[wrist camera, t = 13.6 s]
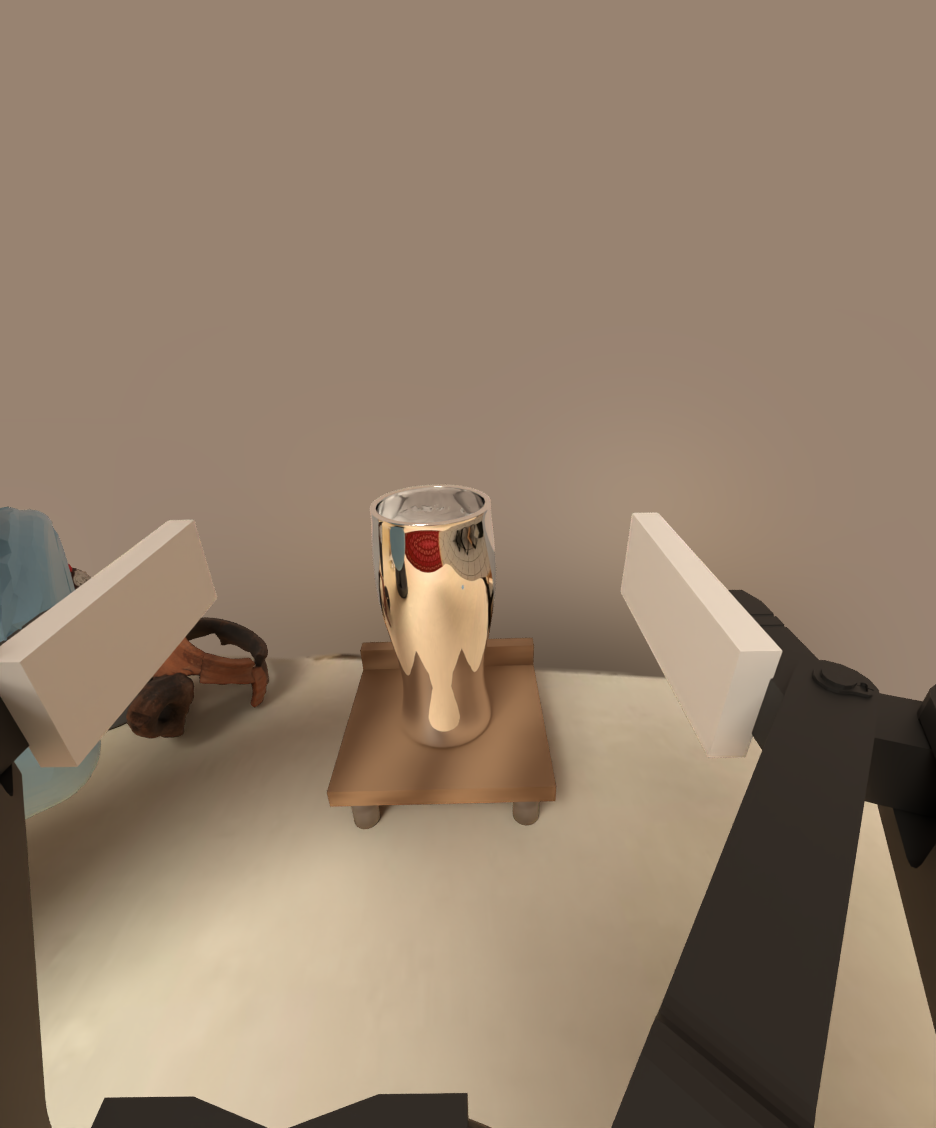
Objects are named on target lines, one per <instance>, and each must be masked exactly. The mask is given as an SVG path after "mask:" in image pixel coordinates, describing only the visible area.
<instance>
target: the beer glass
mask: <svg viewBox="0 0 936 1128" xmlns="http://www.w3.org/2000/svg"><path fill="white" fill-rule="evenodd" d="M370 513H371V530H372V554H373V565H374V576H375V583H376V589H377V594H378V600H379V603H380V607H381V611H382V615H383V618H384V622H385V624H386V627H387V630H388V633H389V636H390V639H391V642H392V645H393V648H394V651H395V654H396V657H397V660H398V663H399V666H400V670H401V675H402V681H403V699H402V707H401V724H402V726H403V729H404V730H405V732H406V733H407V735H408V736H409V737H411V738H412V739H413V740H415V741H416V742H418V743H420V744H423V745H426V746H429V747H435V748H450V747H456V746H460V745H463V744H466V743H468V742H470V741H472V740H474V739H475V738H477V737H478V736H479V735H480V734H481V733H482V732H483V731H484V730H485V729H486V727H487V726H488V724H489V722H490V718H491V704H490V699H489V695H488V692H487V688H486V683H485V677H484V661H485V654H486V647H487V642H488V637H489V632H490V626H491V619H492V614H493V607H494V599H495V589H496V562H495V545H494V534H493V525H492V516H491V500H490V498H489V497H488V495H487V494H485V493H484V492H482V491H479V490H477V489H473V488H470V487H465V486H457V485H423V486H415V487H409V488H404V489H399V490H396V491H393V492H390V493H387V494H385V495H383V496H381V497H379V498H377V499H376V500H375V501H373V503H372V504H371V506H370Z"/></svg>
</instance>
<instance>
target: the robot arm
mask: <svg viewBox="0 0 936 1128" xmlns="http://www.w3.org/2000/svg"><path fill="white" fill-rule="evenodd" d="M621 594H622V596H623V598H624V600H625V601H626V603H627V605H628V607H629V609H630V611H631V613H632V615H633V616H634V619H635V620H636V622H637V624H638V626H639V628H640V630H641V632H642V634H643V635H644V637H645V639H646V641H647V643H648V645H649V647H650V649H651V651H652V653H653V654H654V656H655V658H656V660H657V662H658V664H659V666H660V668H661V669H662V671H663V673H664V675H665V677H666V679H667V681H668V683H669V685H670V687H671V688H672V690H673V692H674V694H675V696H676V698H677V700H678V702H679V703H680V705H681V707H682V709H683V711H684V713H685V715H686V717H687V719H688V720H689V722H690V724H691V726H692V728H693V730H694V732H695V734H696V736H697V737H698V739H699V741H700V743H701V745H702V747H703V749H704V751H705V753H706V754H707V756H708V758H731V757H745V756H746V754H747V751H748V748H749V745H750V742H751V739H752V737H754V738H755V740H756V741H757V743H758V744H759V746H760V747H761V749H762V753H761V755H760V758H759V760H758V763H757V765H756V768H755V770H754V773H753V775H752V778H751V780H750V783H749V785H748V788H747V790H746V793H745V795H744V798H743V800H742V803H741V805H740V808H739V811H738V813H737V816H736V818H735V821H734V823H733V826H732V828H731V831H730V833H729V836H728V838H727V841H726V843H725V846H724V848H723V851H722V853H721V856H720V858H719V861H718V863H717V866H716V868H715V871H714V874H713V876H712V879H711V881H710V884H709V886H708V889H707V891H706V894H705V896H704V899H703V901H702V904H701V906H700V909H699V911H698V914H697V916H696V919H695V921H694V924H693V926H692V929H691V931H690V934H689V936H688V939H687V942H686V944H685V947H684V949H683V952H682V954H681V957H680V959H679V962H678V964H677V967H676V969H675V972H674V974H673V977H672V979H671V982H670V984H669V987H668V989H667V992H666V994H665V997H664V999H663V1002H662V1004H661V1007H660V1009H659V1012H658V1014H657V1016H656V1018H655V1020H654V1022H653V1025H652V1027H651V1030H650V1032H649V1035H648V1037H647V1040H646V1042H645V1045H644V1047H643V1049H642V1052H641V1054H640V1057H639V1059H638V1062H637V1065H636V1067H635V1070H634V1072H633V1075H632V1077H631V1080H630V1082H629V1085H628V1087H627V1090H626V1092H625V1095H624V1097H623V1100H622V1102H621V1105H620V1107H619V1110H618V1112H617V1115H616V1117H615V1120H614V1122H613V1125H612V1127H611V1128H814V1123H815V1113H816V1106H817V1100H818V1093H819V1087H820V1081H821V1074H822V1068H823V1062H824V1055H825V1049H826V1043H827V1036H828V1030H829V1023H830V1017H831V1011H832V1004H833V998H834V992H835V985H836V979H837V973H838V966H839V960H840V954H841V947H842V941H843V935H844V928H845V922H846V915H847V909H848V903H849V896H850V890H851V884H852V877H853V871H854V865H855V858H856V852H857V846H858V839H859V833H860V826H861V820H862V814H863V807H864V801H866V802H870V803H874V804H877V805H878V809H879V813H880V817H881V821H882V825H883V829H884V832H885V836H886V840H887V844H888V848H889V852H890V856H891V860H892V864H893V868H894V872H895V876H896V880H897V883H898V887H899V891H900V895H901V899H902V903H903V907H904V911H905V915H906V919H907V923H908V927H909V931H910V935H911V938H912V942H913V946H914V950H915V954H916V958H917V962H918V966H919V970H920V974H921V978H922V982H923V986H924V990H925V993H926V997H927V1001H928V1005H929V1009H930V1013H931V1017H932V1021H933V1025H934V1029H935V1033H936V685H934V686H933V687H932V688H930V690H929V692H928V693H927V695H926V697H925V699H924V701H923V702H922V701H917V700H912V699H906V698H901V697H896V696H891V695H885V694H881V693H879V690H878V689H877V687H876V686H875V685H874V684H873V683H872V682H871V681H870V680H869V679H868V678H866V677H865V676H863V675H862V674H860V673H859V672H857V671H855V670H853V669H850V668H848V667H846V666H844V665H841V664H837V663H834V662H829V661H826V660H818V659H817V658H816V657H815V656H814V654H812V653H811V651H810V650H809V649H808V648H807V647H806V646H805V645H804V644H803V643H802V642H801V641H800V640H799V639H798V638H797V637H796V636H795V635H794V634H793V633H792V632H791V631H790V630H789V629H788V628H787V627H784V624H783V623H782V622H781V621H780V620H779V619H778V618H777V617H776V616H775V617H774V614H773V613H772V612H771V611H770V610H769V609H768V608H767V606H766V605H765V604H764V603H762V601H760V600H758V599H757V598H755V597H753V596H752V595H750V594H748V593H746V592H745V591H743V590H727V589H726V588H725V586H723V584H722V583H721V582H720V581H719V580H718V579H717V578H716V576H715V575H714V574H713V573H712V572H711V571H710V570H709V569H708V568H707V567H706V565H705V564H704V563H703V562H702V561H701V560H700V559H699V558H698V557H697V555H696V554H695V553H694V552H693V551H692V550H691V549H690V548H689V547H688V545H687V544H686V543H685V542H684V541H683V540H682V539H681V538H680V537H679V535H678V534H677V533H676V532H675V531H674V530H673V529H672V528H671V527H670V525H669V524H668V523H667V522H666V521H665V520H664V519H663V518H662V517H661V515H660V514H659V513H632V519H631V525H630V532H629V538H628V545H627V552H626V558H625V565H624V571H623V578H622V585H621ZM216 599H217V595H216V592H215V588H214V585H213V581H212V578H211V575H210V571H209V568H208V565H207V561H206V558H205V554H204V551H203V548H202V544H201V541H200V537H199V534H198V531H197V527H196V524H195V521H194V520H168V521H167V522H166V523H164V524H163V525H162V526H160V527H159V528H158V529H156V530H155V531H154V532H152V533H151V534H150V535H148V536H147V537H146V538H144V539H143V540H142V541H140V542H139V543H138V544H136V545H135V546H134V547H132V548H131V549H130V550H128V551H127V552H126V553H124V554H123V555H122V556H120V557H119V558H118V559H116V560H115V561H114V562H112V563H111V564H110V565H108V566H107V567H106V568H104V569H103V570H102V571H100V572H99V573H97V574H96V575H95V576H93V577H92V578H91V579H89V580H88V581H87V582H85V583H84V584H83V585H81V586H80V587H79V588H77V589H76V590H75V588H74V584H73V580H72V577H71V573H70V569H69V566H68V562H67V559H66V556H65V552H64V549H63V546H62V544H61V541H60V538H59V536H58V534H57V532H56V531H55V530H54V528H53V526H52V521H51V520H50V519H49V517H48V516H47V515H46V514H44V513H42V512H40V511H36V510H18V509H15V508H11V507H10V508H9V507H4V508H0V1128H52V1127H51V1124H50V1121H49V1117H48V1114H47V1108H46V1101H45V1089H44V1075H43V1061H42V1047H41V1034H40V1020H39V1006H38V992H37V978H36V964H35V950H34V936H33V922H32V908H31V894H30V881H29V867H28V853H27V839H26V825H25V819H28V818H30V817H32V816H34V815H36V814H38V813H40V812H42V811H44V810H47V809H49V808H51V807H53V806H55V805H57V804H59V803H61V802H63V801H65V800H67V799H68V798H70V797H71V796H72V795H74V794H75V793H76V792H77V791H78V790H79V789H80V788H81V787H82V786H83V785H84V784H85V783H86V782H87V781H88V779H89V778H90V777H91V774H92V772H93V770H94V769H95V767H96V765H97V762H98V759H99V755H100V747H101V738H102V737H103V735H104V734H105V733H106V732H107V731H108V729H109V728H110V727H111V726H112V725H113V723H114V722H115V721H116V720H117V719H118V717H119V716H120V715H121V714H122V713H123V711H124V710H125V709H126V708H127V706H128V705H129V704H130V703H131V702H132V700H133V699H134V698H135V697H136V696H137V694H138V693H139V692H140V691H141V690H142V688H143V687H144V686H145V685H146V684H147V682H148V681H149V680H150V679H151V678H152V676H153V675H154V674H155V673H156V671H157V670H158V669H159V668H160V667H161V665H162V664H163V663H164V662H165V661H166V659H167V658H168V657H169V656H170V655H171V653H172V652H173V651H174V650H175V649H176V647H177V646H178V645H179V644H180V643H181V641H182V640H183V639H184V638H185V637H186V635H187V634H188V633H189V632H190V630H191V629H192V628H193V627H194V626H195V624H196V623H197V622H198V621H199V620H200V618H201V617H202V616H203V615H204V614H205V612H206V611H207V610H208V609H209V607H210V606H211V605H212V604H213V603H214V601H215V600H216ZM91 1128H267V1127H264V1126H262V1125H260V1124H257V1123H255V1122H253V1121H250V1120H248V1119H245V1118H243V1117H241V1116H238V1115H236V1114H234V1113H231V1112H229V1111H226V1110H224V1109H222V1108H219V1107H217V1106H215V1105H212V1104H210V1103H207V1102H205V1101H203V1100H200V1099H198V1098H196V1097H120V1098H104V1100H103V1102H102V1105H101V1107H100V1109H99V1111H98V1114H97V1116H96V1118H95V1120H94V1122H93V1125H92V1127H91ZM290 1128H491V1127H489V1126H486V1125H484V1124H481V1123H479V1122H476V1121H474V1120H471V1119H469V1120H468V1094H467V1093H441V1094H378V1095H375V1096H373V1097H370V1098H367V1099H365V1100H362V1101H359V1102H357V1103H354V1104H351V1105H349V1106H346V1107H343V1108H341V1109H338V1110H335V1111H333V1112H330V1113H327V1114H325V1115H322V1116H319V1117H317V1118H314V1119H311V1120H309V1121H306V1122H303V1123H301V1124H298V1125H295V1126H293V1127H290Z"/></svg>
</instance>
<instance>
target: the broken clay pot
mask: <svg viewBox="0 0 936 1128" xmlns="http://www.w3.org/2000/svg"><path fill="white" fill-rule="evenodd" d="M212 633H215V634H216V635H217V637H218V638H219V639H220V642H221V645H227V644H232V645H236V646H238V647H240V648H241V649H243V650H245V651H247V652H250V653H251V655H252V656H253V657H254V659H255V662H254V661H252V660H251V659H250V658H242V659H230V658H225V657H220V656H216V655H213V654H209V653H205V652H203V651H202V650H200V649H198V648H196V647H195V646H194V645H193V644H191V643H190V642H189V640H192V639H195V638H199V637H203V636H206V635H209V634H212ZM267 655H268V650H267V645H266V643H265V642H264V641H263V640H262V639H261V638H260V637H258V635H256V634H255V633H254V632H253V631H251V630H249V629H247V628H246V627H244V626H241V625H238V624H237V623H234V622H230V621H227V620H223V619H217V618H200V620H199V621H198V622H197V623H196V624H195V626H194V627H193V628H192V629H191V630H190V632H189V633H188V634H187V635H186V637H185V638H184V639H183V640H182V641H181V643H180V644H179V645H178V646H177V647H176V649H175V650H174V651H173V652H172V653H171V655H170V656H169V657H168V658H167V659H166V661H165V662H164V663H163V664H162V665H161V667H160V668H159V669H158V670H157V671H156V673H155V674H154V675H153V676H152V678H151V679H150V680H149V681H148V682H147V684H146V685H145V686H144V687H143V688H142V690H141V691H140V692H139V694H138V697H137V698H136V699H135V700H134V701H133V702H132V704H131V706H130V707H129V709H128V711H127V715H126V719H127V724H128V725H129V727H130V728H131V729H132V731H133V732H134V733H135V734H136V735H138V736H141V737H146V738H156V737H159V736H162V737H165V738H169V737H177V736H181V735H183V734H184V725H185V718H186V714H187V713H188V711H189V706H190V704H191V703H192V701H193V698H194V685H193V681H192V680H191V679H190V678H189V677H187V676H190V675H199V676H200V677H199V678H200V680H199V682H200V683H202V684H220V685H225V684H231V683H232V684H250V683H251V684H252V689H253V693H252V700H251V705H252V706H253V707H256V706H258V705H259V704H260V703H261V702H262V701H263V698H264V694H265V693H266V686H267V684H268V682H269V676H268V669H267V665H266V662H265V658H266V657H267ZM254 665H255V667H254Z"/></svg>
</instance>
